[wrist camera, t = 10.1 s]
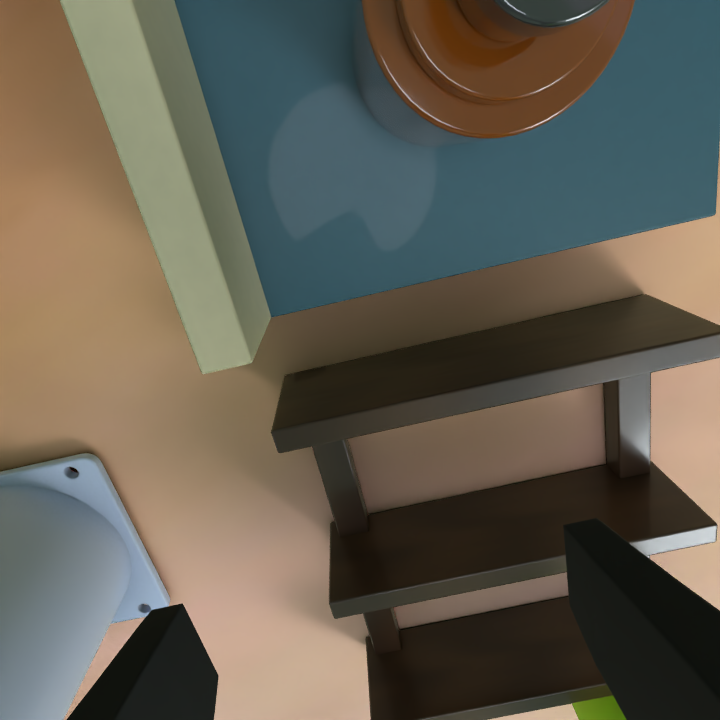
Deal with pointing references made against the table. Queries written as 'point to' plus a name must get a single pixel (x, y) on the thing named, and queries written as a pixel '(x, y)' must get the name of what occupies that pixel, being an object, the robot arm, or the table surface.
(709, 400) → the table surface
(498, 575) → the shelf rack
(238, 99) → the sill
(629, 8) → the bottle
